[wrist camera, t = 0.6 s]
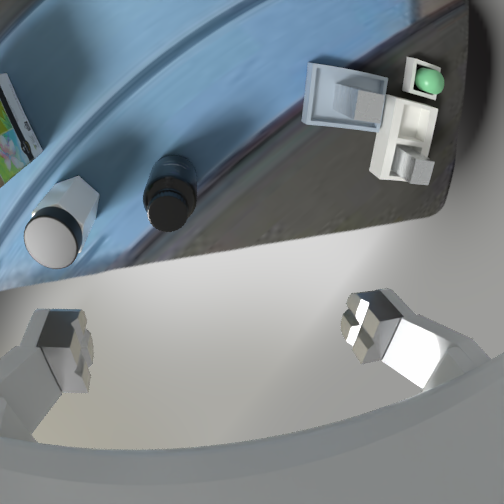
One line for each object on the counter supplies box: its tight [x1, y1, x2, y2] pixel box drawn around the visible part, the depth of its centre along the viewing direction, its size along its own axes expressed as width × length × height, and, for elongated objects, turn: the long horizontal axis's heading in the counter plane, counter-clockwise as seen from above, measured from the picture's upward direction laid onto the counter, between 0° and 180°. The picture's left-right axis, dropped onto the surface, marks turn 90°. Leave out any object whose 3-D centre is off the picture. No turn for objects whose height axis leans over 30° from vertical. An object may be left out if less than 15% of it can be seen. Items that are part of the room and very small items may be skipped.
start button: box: [415, 68, 444, 94], centre depth 38 cm, size 4×4×3 cm
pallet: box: [369, 94, 438, 181], centre depth 45 cm, size 14×9×4 cm, turn 176°
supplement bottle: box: [143, 155, 197, 232], centre depth 40 cm, size 7×7×12 cm
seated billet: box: [391, 145, 435, 185], centre depth 44 cm, size 4×4×7 cm
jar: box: [24, 176, 99, 269], centre depth 39 cm, size 9×8×12 cm
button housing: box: [402, 57, 441, 100], centre depth 40 cm, size 6×6×2 cm
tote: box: [302, 63, 388, 133], centre depth 41 cm, size 9×12×2 cm
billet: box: [332, 83, 385, 124], centre depth 38 cm, size 4×4×7 cm
